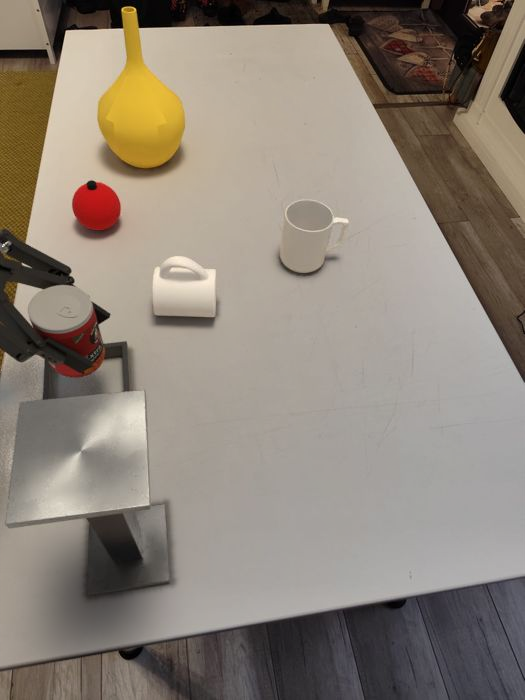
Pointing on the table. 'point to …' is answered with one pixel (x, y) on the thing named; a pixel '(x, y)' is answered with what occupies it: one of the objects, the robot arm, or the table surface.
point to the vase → (140, 108)
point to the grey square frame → (110, 351)
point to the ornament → (96, 205)
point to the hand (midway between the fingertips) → (95, 342)
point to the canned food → (68, 324)
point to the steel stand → (92, 483)
